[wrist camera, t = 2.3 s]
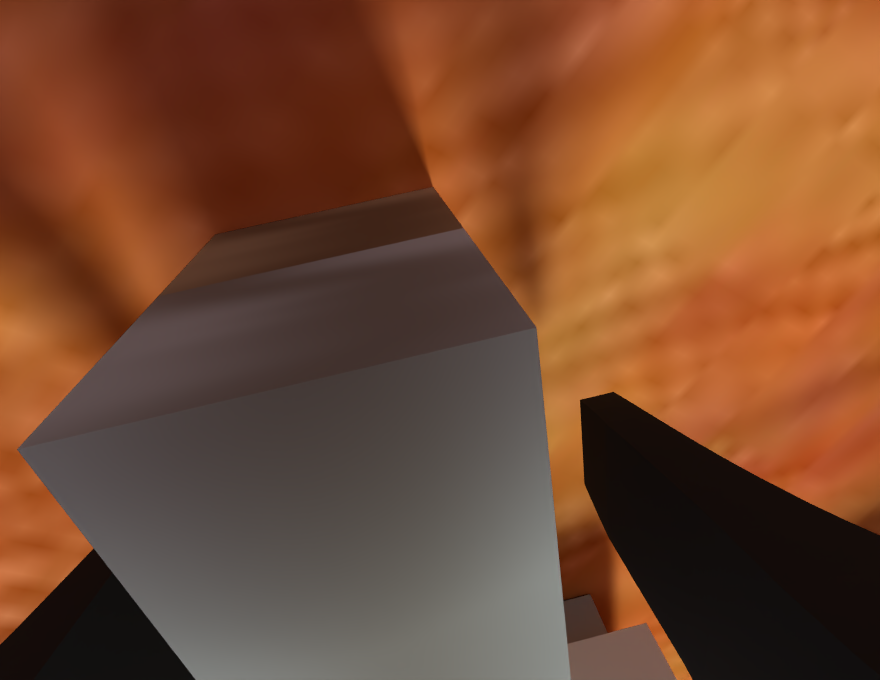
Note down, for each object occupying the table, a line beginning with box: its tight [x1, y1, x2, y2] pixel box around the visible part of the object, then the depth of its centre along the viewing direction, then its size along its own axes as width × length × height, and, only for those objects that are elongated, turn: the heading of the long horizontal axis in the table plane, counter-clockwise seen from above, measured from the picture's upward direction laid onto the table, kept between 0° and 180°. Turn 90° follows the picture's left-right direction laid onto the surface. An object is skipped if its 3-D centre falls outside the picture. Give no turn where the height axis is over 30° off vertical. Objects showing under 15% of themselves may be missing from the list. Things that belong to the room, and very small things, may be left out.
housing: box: [17, 187, 571, 680], centre depth 9 cm, size 4×9×6 cm, turn 11°
